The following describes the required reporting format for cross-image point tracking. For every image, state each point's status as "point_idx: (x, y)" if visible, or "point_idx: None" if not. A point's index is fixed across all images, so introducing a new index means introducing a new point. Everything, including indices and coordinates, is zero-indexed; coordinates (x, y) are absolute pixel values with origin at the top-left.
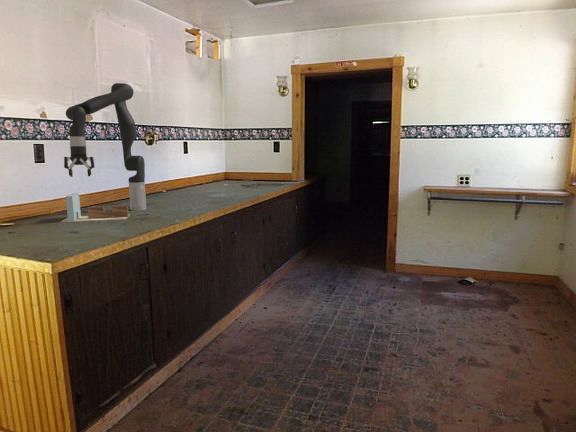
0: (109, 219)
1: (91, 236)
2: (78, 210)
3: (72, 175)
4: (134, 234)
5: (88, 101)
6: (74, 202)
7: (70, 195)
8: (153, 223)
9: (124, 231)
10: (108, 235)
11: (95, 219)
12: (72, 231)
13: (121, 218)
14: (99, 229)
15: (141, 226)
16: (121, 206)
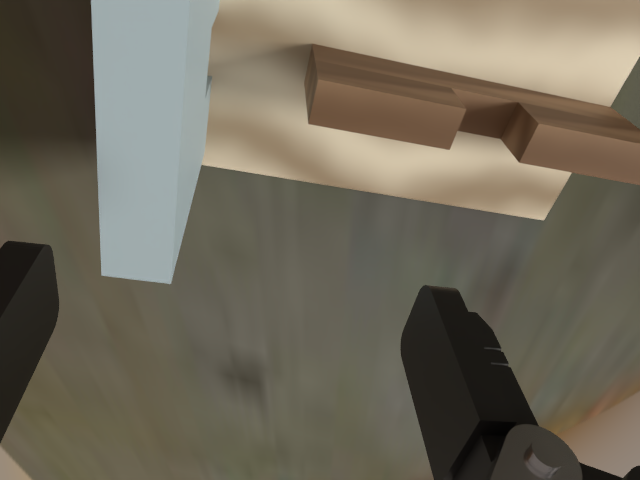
0: (445, 192)
1: (315, 449)
2: (213, 6)
3: (42, 268)
4: None
5: None
6: (187, 177)
7: (136, 223)
8: (628, 318)
9: None
10: (375, 451)
11: (355, 150)
12: (231, 360)
13: (527, 185)
14: (354, 359)
15: (544, 360)
16: (596, 175)
